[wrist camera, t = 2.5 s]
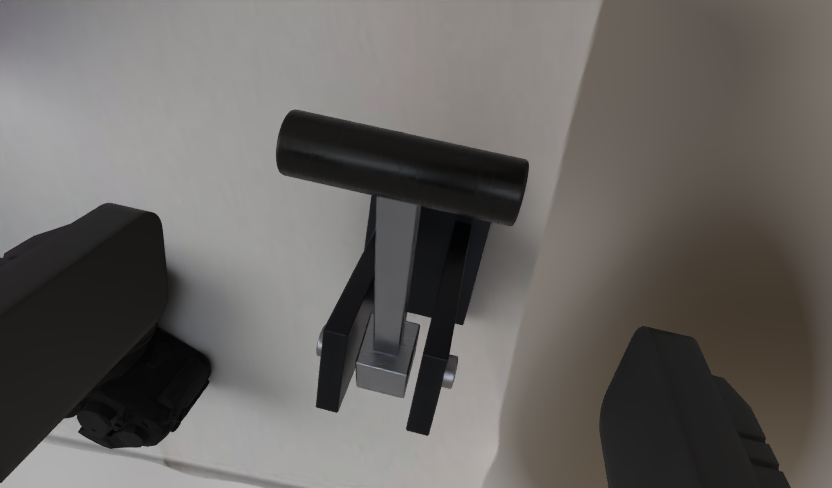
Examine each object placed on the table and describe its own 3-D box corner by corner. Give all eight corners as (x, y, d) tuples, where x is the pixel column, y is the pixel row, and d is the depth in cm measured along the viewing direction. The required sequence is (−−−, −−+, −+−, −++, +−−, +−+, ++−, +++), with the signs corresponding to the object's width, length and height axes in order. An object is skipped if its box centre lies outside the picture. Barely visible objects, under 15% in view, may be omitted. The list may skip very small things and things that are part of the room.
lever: (301, 86, 13) (264, 151, 12) (534, 135, 13) (523, 209, 12) (331, 329, 25) (314, 377, 24) (455, 359, 25) (445, 409, 23)
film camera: (253, 319, 38) (185, 414, 31) (203, 392, 43) (133, 489, 35) (60, 198, 36) (-66, 266, 28) (30, 288, 41) (-85, 368, 33)
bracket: (381, 149, 30) (302, 263, 19) (501, 175, 30) (491, 308, 19) (362, 290, 35) (290, 444, 24) (464, 314, 35) (439, 483, 24)
